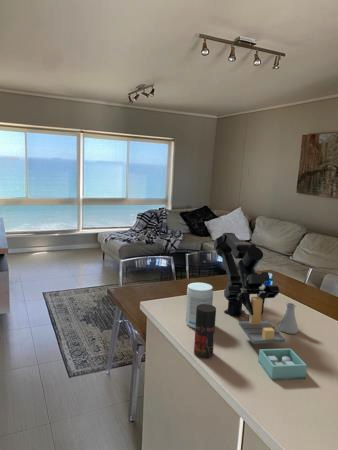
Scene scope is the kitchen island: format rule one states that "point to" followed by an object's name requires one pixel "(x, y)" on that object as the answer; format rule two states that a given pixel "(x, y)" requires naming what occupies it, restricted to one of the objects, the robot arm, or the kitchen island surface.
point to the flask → (289, 320)
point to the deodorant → (204, 331)
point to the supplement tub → (197, 300)
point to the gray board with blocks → (260, 326)
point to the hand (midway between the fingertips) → (257, 314)
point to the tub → (282, 364)
